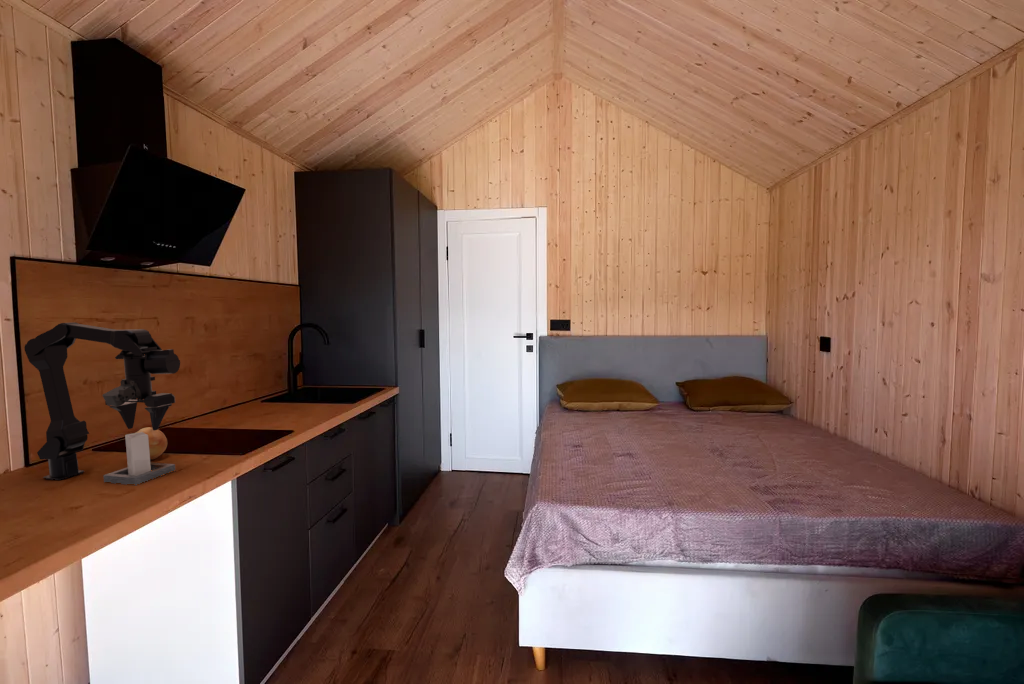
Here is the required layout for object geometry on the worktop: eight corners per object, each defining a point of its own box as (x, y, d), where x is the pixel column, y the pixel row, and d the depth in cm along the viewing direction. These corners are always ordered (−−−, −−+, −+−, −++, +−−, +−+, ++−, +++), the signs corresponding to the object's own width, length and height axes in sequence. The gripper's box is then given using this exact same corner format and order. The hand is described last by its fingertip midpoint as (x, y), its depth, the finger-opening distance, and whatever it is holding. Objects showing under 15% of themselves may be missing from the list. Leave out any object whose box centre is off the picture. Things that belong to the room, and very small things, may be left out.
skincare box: (152, 476, 137) (148, 434, 136) (133, 481, 134) (129, 438, 133) (146, 472, 141) (142, 431, 140) (128, 476, 138) (124, 434, 137)
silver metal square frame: (103, 482, 134) (103, 475, 133) (144, 468, 145) (144, 461, 144) (136, 485, 131) (135, 478, 130) (175, 470, 142) (174, 464, 141)
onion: (121, 464, 149) (118, 432, 148) (147, 454, 159) (144, 424, 158) (151, 464, 148) (148, 432, 147) (175, 454, 158) (173, 423, 157)
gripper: (81, 378, 132) (87, 435, 133) (134, 379, 127) (139, 438, 128) (123, 372, 142) (128, 425, 144) (174, 373, 137) (178, 428, 139)
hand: (142, 429), depth 138 cm, fingers open, 9 cm apart
